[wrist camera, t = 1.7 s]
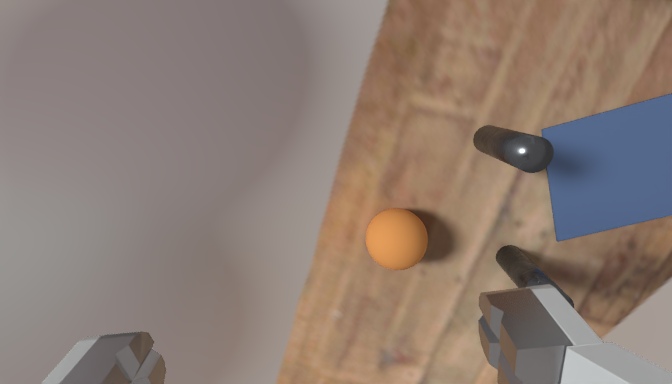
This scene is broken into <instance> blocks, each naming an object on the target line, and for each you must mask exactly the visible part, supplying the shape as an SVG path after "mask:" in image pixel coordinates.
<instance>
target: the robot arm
mask: <svg viewBox="0 0 672 384" xmlns="http://www.w3.org/2000/svg"><path fill="white" fill-rule="evenodd" d="M479 307H480V309H481V311H482V313H483V316H482V317H481V318H480V319H479V335H480V341H481V345H482V348H483V351H484V353H485V356H486V358H487V360H488V362H489V364H490V365H492V366H493V367H495V368H496V369H497V370H498V384H672V372H670V371H667V370H666V369H664V368H662V367H660V366H658V365H656V364H654V363H652V362H650V361H648V360H646V359H644V358H642V357H640V356H638V355H636V354H634V353H632V352H631V351H629V350H627V349H625V348H623V347H621V346H619V345H617V344H615V343H613V342H606V343H604V342H603V341H602V340H601V339H600V337H599V336H598V335H597V334H596V333H595V332H594V331H593V330H592V328H591V327H590V326H589V325H588V324H587V323H586V322H585V321H584V319H583V318H582V317H581V316H580V315H579V314H578V313H577V312H576V310H575V309H574V308H573V307H572V306H571V305H570V304H569V303H568V301H567V300H566V299H565V298H564V297H563V296H562V295H561V294H560V292H559V291H558V290H557V289H556V288H555V287H554V286H552V285H550V284H546V285H538V286H530V287H526V288H515V289H507V290H499V291H491V292H483V293H481V294H480V296H479ZM153 344H154V341H153V339H152V337H151V336H150V334H149V333H147V332H132V333H120V334H110V335H103V336H90V337H86V338H84V339H82V340H80V341H78V343H77V344H76V345H75V346H74V347H73V348H72V349H71V350H70V352H69V353H68V354H67V355H66V356H65V357H64V358H63V359H62V361H61V362H60V363H59V364H58V365H57V366H56V367H55V368H54V370H53V371H52V372H51V373H50V374H49V375H48V376H47V378H46V379H45V380H44V381H43V382H42V383H41V384H164V379H165V374H166V367H165V362H164V360H163V358H162V356H161V354H159V353H158V352H156V351H155V350H153V349H152V347H153Z"/></svg>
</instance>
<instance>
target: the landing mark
mask: <svg viewBox="0 0 672 384" xmlns="http://www.w3.org/2000/svg"><path fill="white" fill-rule="evenodd" d="M541 131H542V137H543V138H545V139H547V140H548V141H550V143H551V144H552V146H553V149H554V155H553V159H552V161H551V162H550V164H549V165H548V166H547V174H548V181H549V189H550V196H551V203H552V210H553V218H554V225H555V232H556V240H557V241H562V240H566V239H570V238H575V237H579V236H583V235H588V234H592V233H596V232H601V231H605V230H609V229H614V228H618V227H622V226H627V225H631V224H635V223H640V222H644V221H649V220H653V219H657V218H662V217H666V216H670V215H672V94H668V95H664V96H661V97H657V98H653V99H650V100H646V101H643V102H639V103H635V104H632V105H628V106H625V107H621V108H617V109H614V110H610V111H607V112H603V113H599V114H596V115H592V116H589V117H585V118H581V119H578V120H574V121H571V122H567V123H563V124H560V125H556V126H553V127H549V128H545V129H542V130H541Z"/></svg>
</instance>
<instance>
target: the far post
mask: <svg viewBox="0 0 672 384" xmlns="http://www.w3.org/2000/svg"><path fill="white" fill-rule="evenodd" d="M496 261H497V263H498V264H499V265H500V266H501V267H502V269H503V270H504V271H505V272H506V273H507V275H508V276H509V277H510V278H511V279H512V281H513V282H514V283H515V284H516V285H517V287H518V288H526V287H530V286H538V285H546V284H550V285H552V286H554V287H555V288H556V289H557V290H558V291H559V292H560V294H561V295H562V296H563V297H564V298H565V299H566V300H567V301H568V303H569V304H570V305H571V306H572V307H573V308H574V304H573V301H572V300H571V298H570V297H569V296H567V295H566V294H565V293H564V292H563V291H562V290H561V289H560V288H559V287H558V286H557V285H556V284H555V283H554V282H553V281H552V280H551V279H550V278H549V277H548V276H547V275H546V274H544V273H543V272H542V271H541V270H540V269H539V268H538V267H537V266H536V265H535V264H534V263H533V262H532V261H531V260H530V259H529V258H528V257H527V256H526V255H525V254H524V253H522V252H521V251H520V250H519V249H518V248H517V247H515V246H512V245H508V246H504V247H502V248H501V249H500V250H499V251H498V252H497V254H496Z"/></svg>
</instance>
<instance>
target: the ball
mask: <svg viewBox="0 0 672 384" xmlns="http://www.w3.org/2000/svg"><path fill="white" fill-rule="evenodd" d="M366 245H367V248H368V251H369V253H370V255H371V256H372V258H373V259H374V260H375V261H376V262H377V263H378V264H380V265H381V266H383V267H385V268H388V269H392V270H404V269H408V268H410V267H412V266H414V265H415V264H417V263H418V262H419V261H420V260H421V259H422V257H423V256H424V254H425V252H426V249H427V246H428V235H427V231H426V228H425V226H424V224H423V222H422V221H421V220H420V219H419V218H418V217H417V216H416V215H415V214H413V213H412V212H410V211H408V210H405V209H399V208H393V209H388V210H385V211H383V212H381V213H379V214H378V215H376V216H375V217H374V218H373V219H372V221H371V222H370V224H369V226H368V229H367V232H366Z"/></svg>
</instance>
